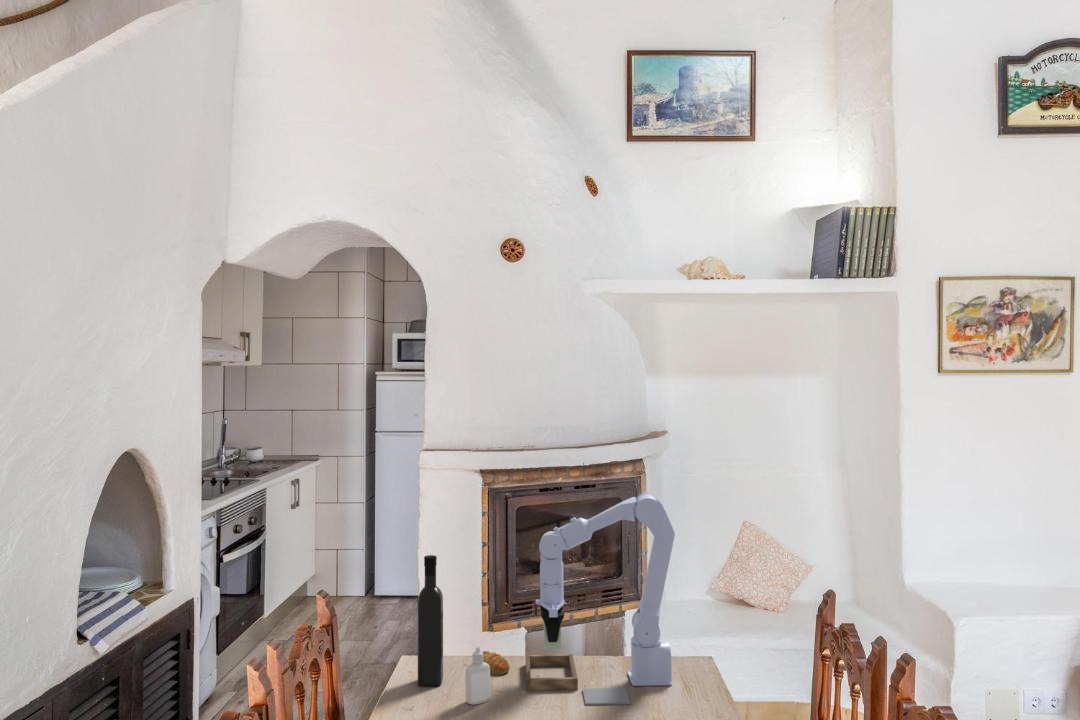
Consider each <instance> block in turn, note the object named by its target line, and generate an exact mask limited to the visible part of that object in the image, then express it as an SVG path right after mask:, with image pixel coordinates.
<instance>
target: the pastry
mask: <svg viewBox="0 0 1080 720" xmlns="http://www.w3.org/2000/svg"><path fill="white" fill-rule="evenodd" d="M482 652H483V662H485V663H487V664H489V666H490V675H494V676H497V675H500V676H501V675H504V674H506V673H508V672H509V671H510V668H511V665H510V664H509V663H508V662H509V661H508V660H506V658H505V657H502V656H501V654H499V653H497V652H493V651H492V652H490V651H488V650H487V651H486V650H483V651H482Z"/></svg>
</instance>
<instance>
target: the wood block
mask: <svg viewBox="0 0 1080 720" xmlns="http://www.w3.org/2000/svg"><path fill="white" fill-rule="evenodd" d="M561 626H562V624H561V625H560V629H559V636H558V640H557V642H549V641H548V638H547V632H546V626H545V623H544V622H543V648H544V650H546V651H548V650H550V651H551V650H554V651H555V650H562V629H561V628H562V627H561Z"/></svg>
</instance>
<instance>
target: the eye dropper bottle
mask: <svg viewBox="0 0 1080 720" xmlns="http://www.w3.org/2000/svg"><path fill="white" fill-rule="evenodd" d="M480 647H481V646H476V647H475V651H474V652H472V663H471V664H469V665H468V666H467V667H466V668H465V702H466V703H467V704H469V705H471V706H472V705H474V706H475V705H480V704H484V703H486V702H488V701H489V700H490V699H491V674H490V666H489V664H487V663H485V662H483V651H482V650H481V649H480Z"/></svg>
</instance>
